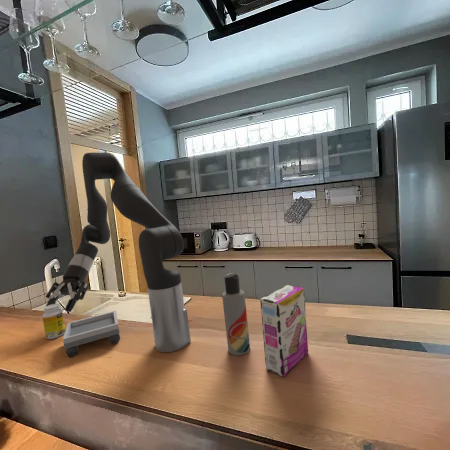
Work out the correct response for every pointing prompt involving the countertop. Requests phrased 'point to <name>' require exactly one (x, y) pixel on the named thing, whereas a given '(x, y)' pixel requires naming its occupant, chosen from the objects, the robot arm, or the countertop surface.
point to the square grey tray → (90, 331)
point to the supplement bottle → (53, 321)
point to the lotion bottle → (235, 316)
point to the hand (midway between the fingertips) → (57, 311)
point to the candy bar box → (284, 329)
